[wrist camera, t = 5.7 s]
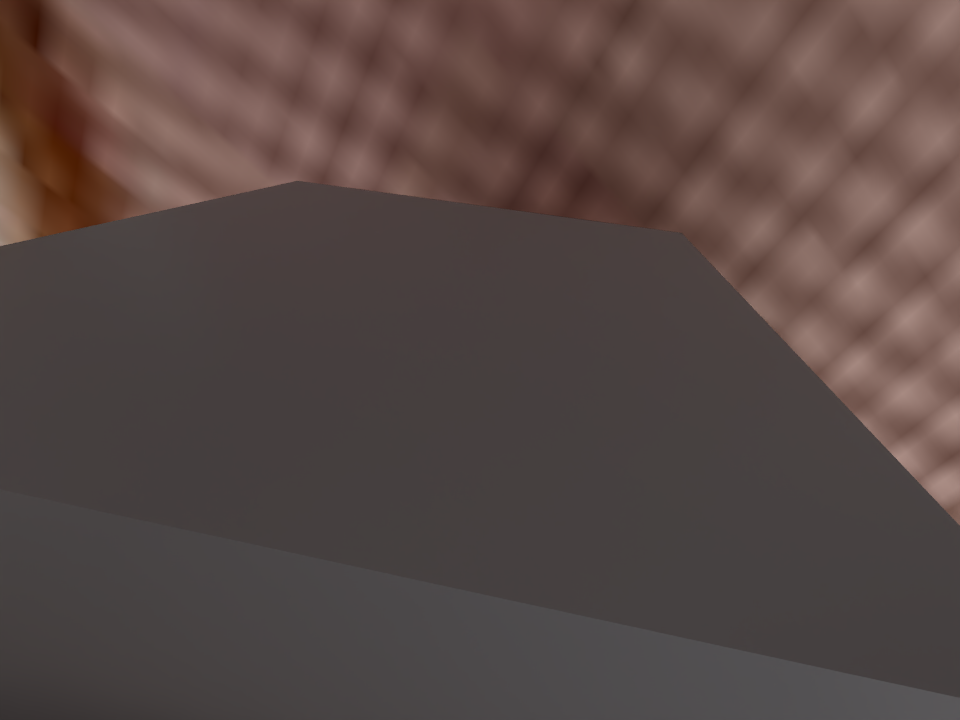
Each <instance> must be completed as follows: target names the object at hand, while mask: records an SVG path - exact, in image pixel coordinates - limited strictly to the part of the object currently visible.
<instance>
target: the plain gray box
mask: <svg viewBox="0 0 960 720" xmlns="http://www.w3.org/2000/svg"><path fill="white" fill-rule="evenodd" d="M0 720H960V526H959V525H958V524H957V522H956V521H955V520H954V519H953V518H952V517H951V516H950V515H949V514H948V513H947V512H946V511H945V510H944V509H943V508H942V507H941V506H940V505H939V504H938V502H937V501H936V500H935V499H934V498H933V497H932V496H931V495H930V494H929V493H928V492H927V491H926V490H925V489H924V488H923V487H922V486H921V485H920V484H919V482H918V481H917V480H916V479H915V478H914V477H913V476H912V475H911V474H910V473H909V472H908V471H907V470H906V469H905V468H904V467H903V466H902V465H901V463H900V462H899V461H898V460H897V459H896V458H895V457H894V456H893V455H892V454H891V453H890V452H889V451H888V450H887V449H886V448H885V447H884V446H883V445H882V443H881V442H880V441H879V440H878V439H877V438H876V437H875V436H874V435H873V434H872V433H871V432H870V431H869V430H868V429H867V428H866V427H865V426H864V425H863V423H862V422H861V421H860V420H859V419H858V418H857V417H856V416H855V415H854V414H853V413H852V412H851V411H850V410H849V409H848V408H847V407H846V406H845V405H844V403H843V402H842V401H841V400H840V399H839V398H838V397H837V396H836V395H835V394H834V393H833V392H832V391H831V390H830V389H829V388H828V387H827V386H826V385H825V383H824V382H823V381H822V380H821V379H820V378H819V377H818V376H817V375H816V374H815V373H814V372H813V371H812V370H811V369H810V368H809V367H808V366H807V365H806V363H805V362H804V361H803V360H802V359H801V358H800V357H799V356H798V355H797V354H796V353H795V352H794V351H793V350H792V349H791V348H790V347H789V346H788V345H787V343H786V342H785V341H784V340H783V339H782V338H781V337H780V336H779V335H778V334H777V333H776V332H775V331H774V330H773V329H772V328H771V327H770V326H769V325H768V323H767V322H766V321H765V320H764V319H763V318H762V317H761V316H760V315H759V314H758V313H757V312H756V311H755V310H754V309H753V308H752V307H751V306H750V305H749V303H748V302H747V301H746V300H745V299H744V298H743V297H742V296H741V295H740V294H739V293H738V292H737V291H736V290H735V289H734V288H733V287H732V286H731V285H730V283H729V282H728V281H727V280H726V279H725V278H724V277H723V276H722V275H721V274H720V273H719V272H718V271H717V270H716V269H715V268H714V267H713V266H712V265H711V263H710V262H709V261H708V260H707V259H706V258H705V257H704V256H703V255H702V254H701V253H700V252H699V251H698V250H697V249H696V248H695V247H694V246H693V244H692V243H691V242H690V241H689V240H688V239H687V238H686V237H685V236H684V235H683V234H682V233H678V232H671V231H663V230H656V229H649V228H641V227H634V226H626V225H619V224H612V223H604V222H597V221H590V220H582V219H575V218H567V217H560V216H553V215H545V214H538V213H531V212H523V211H516V210H508V209H501V208H494V207H486V206H479V205H472V204H464V203H457V202H449V201H442V200H435V199H427V198H420V197H413V196H405V195H398V194H390V193H383V192H376V191H368V190H361V189H354V188H346V187H339V186H331V185H324V184H317V183H309V182H302V181H295V182H290V183H286V184H281V185H277V186H272V187H268V188H263V189H258V190H254V191H249V192H245V193H240V194H236V195H231V196H227V197H222V198H218V199H213V200H209V201H204V202H199V203H195V204H190V205H186V206H181V207H177V208H172V209H168V210H163V211H159V212H154V213H149V214H145V215H140V216H136V217H131V218H127V219H122V220H118V221H113V222H109V223H104V224H99V225H95V226H90V227H86V228H81V229H77V230H72V231H68V232H63V233H59V234H54V235H49V236H45V237H40V238H36V239H31V240H27V241H22V242H18V243H13V244H9V245H4V246H0Z"/></svg>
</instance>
